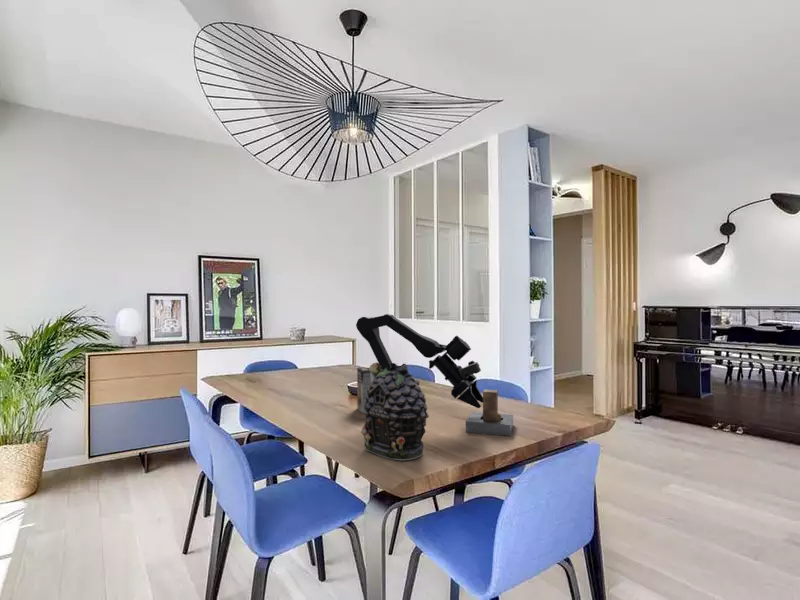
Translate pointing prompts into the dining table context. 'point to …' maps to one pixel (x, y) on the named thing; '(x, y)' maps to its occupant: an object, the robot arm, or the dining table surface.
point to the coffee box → (362, 387)
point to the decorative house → (394, 413)
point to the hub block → (489, 424)
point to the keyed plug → (490, 405)
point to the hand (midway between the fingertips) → (481, 404)
